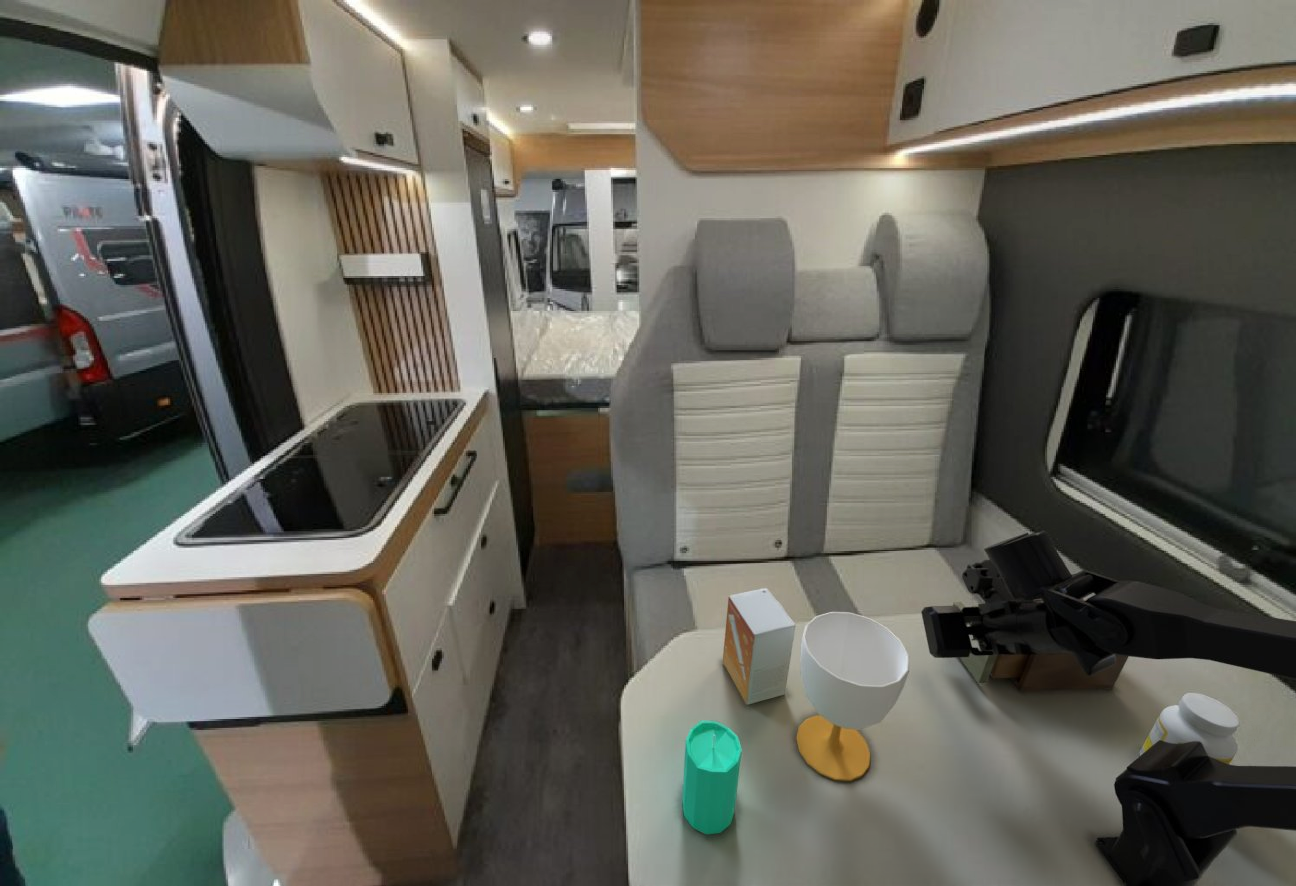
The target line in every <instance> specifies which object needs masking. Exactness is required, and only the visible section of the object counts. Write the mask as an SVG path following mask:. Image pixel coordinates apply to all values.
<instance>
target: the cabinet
mask: <svg viewBox="0 0 1296 886" xmlns="http://www.w3.org/2000/svg"><path fill="white" fill-rule="evenodd" d="M1035 600H1042V598H1040V599H1035ZM1081 600H1082V601H1086V600H1085V598H1083V599H1081ZM1115 656H1116V664H1115V665H1113V666H1111V667H1109V668H1106V669H1104V670H1102V671H1100V672H1097V673H1095V674H1093V675H1091V676H1088V675H1086V674H1085V673H1084V672H1083V670H1082V669H1081V667H1080V665H1079V664H1078V662H1077V660H1076V658H1075V657H1074V655H1073V654H1030V656H1029V659H1028V661H1027V664H1026V666H1025V669H1024V671H1023V674H1022V676H1021V677H1018V678H1010V679H1011V680H1012V682H1013V683H1014V685H1015V686H1016V687H1017V688H1018V689H1019V691H1021V692H1031V691H1032V692H1034V691H1036V692H1037V691H1041V692H1042V691H1083V690H1084V691H1086V690H1087V691H1088V690H1089V691H1091V690H1113V689H1114V687H1115V686H1116V685H1115V684H1116V683H1117V681H1118V679H1119V677H1120V675H1121V673H1122V671H1123V669H1124V667H1125V665H1126V663H1127V661H1128V659H1129V657H1130V656H1121V655H1116V654H1115Z"/></svg>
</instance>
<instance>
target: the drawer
mask: <svg viewBox="0 0 1296 886" xmlns="http://www.w3.org/2000/svg"><path fill="white" fill-rule="evenodd" d="M952 606H958V607H959V608H960V610H962V609H963V608H964V607H966V606H965V605H964V603H962V602H961V601H954V602H953V604H952ZM971 607H978V605H972V606H971ZM993 654H994V653H993ZM1029 656H1030V654H1026V655H1016V654H1014V655H1004V654H994V655H982V656H975V655H973V654H971V653H970V655H969V657H958V658H959V659H960V661H961V662H962V663H963V664H964V666H965V667H966V669H967V670H968V671H969V673H970V674H971V675H972V677H973V678H974V680H975V681H976V683H977V684H978V685H983V684H984V685H985V684H987V683H988V681H989V678H990V676H991V677H992V679H1003V678H1004V679H1011V678H1018V677H1021V676H1022V674H1023V671H1024V669H1025V666H1026V664H1027V661H1028V659H1029Z"/></svg>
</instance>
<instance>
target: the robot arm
mask: <svg viewBox="0 0 1296 886" xmlns="http://www.w3.org/2000/svg"><path fill="white" fill-rule="evenodd" d="M983 551H984V552H985V554H986V557H987V558H988V559H984V560H982V561H981V562H974V563H973V564H968V565H967V566H966V569H965V570H964V571H963V572H962V574H961V578H962V580H963V583H964V584H965V588H966V589H967V591H968V593H970V594H971V595H978V596H979V598H981V599H982V600H983V602H984V603H978V604H977V606H978V607H972V606H965V607H964V608H963V609H962V610H960V608H959V607H958V606H953V605H931V606H925V607H923V609H922V610H921V612H920V613H921V617H922V624H923V627H924V632H925V637H926V642H927V646H928V651H929V655H931V656H932V657H934V658H935V659H952V658H953V659H954V658H959V657H969V655H970V653H971V654H973V655H975V656H982V655H994V654H1004V655H1014V654H1016V655H1026V654H1073V655H1074V657H1075V658H1076V660H1077V662H1078V664H1079V665H1080V667H1081V669H1082V670H1083V672H1084V673H1085V674H1086V675H1088V676H1091V675H1093V674H1095V673H1097V672H1100V671H1102V670H1104V669H1106V668H1109V667H1111V666H1113V665H1115V664H1116V656H1115V654H1116V655H1121V656H1129V657H1131V658H1138V659H1139V658H1140V659H1148V660H1149V659H1150V660H1176V659H1177V660H1179V659H1180V660H1182V659H1197V660H1205V661H1211V662H1217V663H1221V664H1224V665H1225V664H1226V665H1229V666H1234V667H1238V668H1243V669H1247V670H1252V671H1256V672H1261V673H1265V674H1269V675H1272V676H1278V677H1282V678H1286V679H1290V680H1291V679H1292V680H1296V620H1291V619H1286V618H1285V619H1284V618H1279V617H1273V616H1272V617H1271V616H1266V615H1260V614H1254V613H1247V612H1243V611H1242V612H1241V611H1235V610H1229V609H1223V608H1218V607H1215V606H1211V605H1207V604H1204V603H1201V602H1199V601H1197V600H1195V599H1193V598H1192V597H1189V596H1187V595H1185V594H1183V593H1181V592H1179V591H1175V590H1171V589H1169V588H1166V587H1165V588H1164V587H1162V586H1157V585H1154V584H1150V583H1146V582H1142V581H1138V580H1118V579H1116V578H1112V577H1109V576H1106V575H1103V574H1100V573H1098V572H1096V571H1095V572H1094V571H1091V570H1089V569H1082V570H1080V571H1078V572H1076V573H1071V572H1070V570H1069V568H1068V567H1067V565H1066V563H1065V561H1064V560H1063V559H1062V557H1061V555H1060V554H1059V552H1058V550H1057V549H1056V546H1055V543H1054V541H1053V540H1052V537H1051V535H1050V534H1049V532H1048V531H1046V530H1041V531H1038V532H1032V533H1029V532H1025V533H1022V534H1019V535H1016V536H1013V537H1011V538H1007V539H1005V540H1001V541H1000V542H997V543H994V544H991V545H988V546H986V547H984V548H983ZM1092 594H1094V595H1092ZM1090 595H1092V596H1090ZM1088 596H1090V597H1088ZM1086 597H1088V598H1086ZM1040 598H1042V600H1035V599H1040ZM1085 598H1086V600H1085V601H1082V600H1081V599H1085ZM993 653H994V654H993ZM1113 786H1114V793H1115V796H1116V798H1117V800H1118V802H1119V804H1120V805H1121V817H1122V831H1121V832H1120V834H1119V836H1105V837H1102V836H1101V837H1096V839H1095V841H1094V842H1095V844H1096V846H1097V847H1098V849H1099V851H1101V853H1102V855H1103V856H1104V857H1105V858H1106V860H1107V861H1108V862H1109V864H1110V865H1111V867H1112V868H1113V869H1114V871H1115V872H1116V873H1117V876H1119V878H1120V879H1121V880H1122V881H1123V883H1124V885H1125V886H1196V884H1197V883H1198V882H1199V881H1200V879H1201V878H1202V877H1203V876H1204V875H1205V873H1206V871H1207V870H1208V869H1209V867H1211V865H1212V864H1213V862H1214V861H1215V860H1216V859H1217V858H1218V857H1219V855H1220V854H1221V853H1222V852H1223V851H1224V850H1225V849H1226V848H1227V846H1229V844H1230V843H1231V842H1232V841H1233V839H1234V838H1235V837H1236V836H1237V835H1238V829H1242V828H1243V829H1244V828H1262V829H1271V830H1280V831H1281V830H1283V831H1292V832H1293V831H1294V832H1296V765H1295V766H1293V765H1291V766H1288V765H1286V766H1283V765H1272V766H1271V765H1235V764H1230V763H1229V764H1226V763H1224V762H1221V761H1219V760H1216V759H1214V758H1212V757H1209V756H1208V754H1207V752H1206V750H1205V749H1204V747H1203V745H1202V743H1201V742H1200V741H1192V742H1187V743H1182V744H1175V743H1168V742H1165V741H1161V740H1159V741H1157V742H1156V743H1155V744H1154V745H1153V746H1151V747H1150V748H1149V749H1148V750H1147V751H1145V752H1144V753H1143V754H1142V755H1141V756H1140V757H1138V756H1137V758H1135V760H1133V761H1132V762H1131V763H1130V764H1129V765H1128V766H1126V768H1125V770H1124V771H1122V773H1120V774H1119V775H1117V777H1115V781H1114V784H1113Z"/></svg>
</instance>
